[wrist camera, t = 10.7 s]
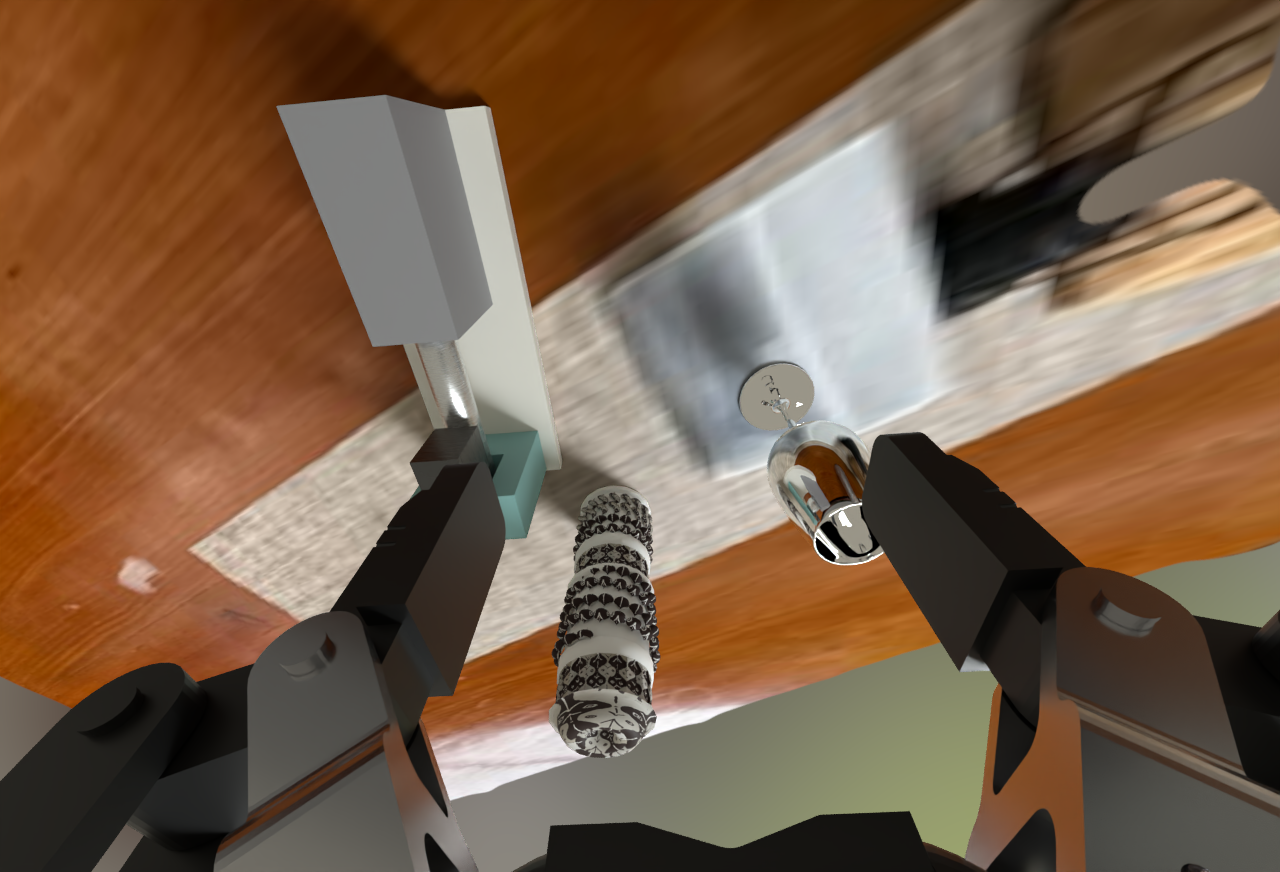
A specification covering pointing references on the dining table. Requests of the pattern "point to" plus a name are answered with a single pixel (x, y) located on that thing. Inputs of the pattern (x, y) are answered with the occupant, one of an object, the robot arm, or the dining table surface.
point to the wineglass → (812, 466)
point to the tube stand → (429, 244)
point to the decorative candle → (608, 629)
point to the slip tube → (450, 415)
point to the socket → (516, 477)
